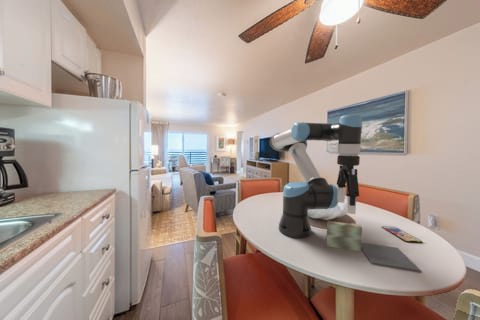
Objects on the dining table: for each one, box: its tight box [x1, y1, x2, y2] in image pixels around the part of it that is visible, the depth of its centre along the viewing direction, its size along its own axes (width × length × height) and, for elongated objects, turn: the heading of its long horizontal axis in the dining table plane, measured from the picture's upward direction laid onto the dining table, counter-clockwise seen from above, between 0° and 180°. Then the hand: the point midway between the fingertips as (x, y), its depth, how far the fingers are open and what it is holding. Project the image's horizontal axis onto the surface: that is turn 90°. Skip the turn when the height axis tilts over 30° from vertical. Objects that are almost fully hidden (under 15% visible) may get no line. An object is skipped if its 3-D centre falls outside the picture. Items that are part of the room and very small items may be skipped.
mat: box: [361, 241, 422, 273], centre depth 67 cm, size 14×14×1 cm
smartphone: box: [381, 225, 423, 244], centre depth 84 cm, size 7×1×15 cm
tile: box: [325, 220, 363, 252], centre depth 72 cm, size 12×2×10 cm, turn 73°
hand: (345, 207), depth 72 cm, fingers open, 13 cm apart
